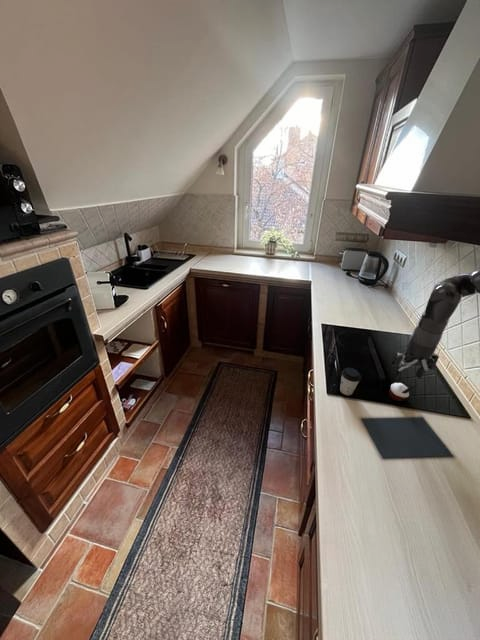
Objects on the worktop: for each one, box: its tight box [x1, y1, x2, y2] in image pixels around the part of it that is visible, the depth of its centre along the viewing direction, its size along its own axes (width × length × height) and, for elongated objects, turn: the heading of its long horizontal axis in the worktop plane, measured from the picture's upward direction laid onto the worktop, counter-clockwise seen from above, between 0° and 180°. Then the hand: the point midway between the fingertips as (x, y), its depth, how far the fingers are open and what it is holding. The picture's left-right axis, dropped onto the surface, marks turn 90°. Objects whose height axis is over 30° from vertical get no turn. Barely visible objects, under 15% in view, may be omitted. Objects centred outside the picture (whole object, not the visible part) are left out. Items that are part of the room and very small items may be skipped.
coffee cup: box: [339, 367, 362, 396], centre depth 97 cm, size 7×7×10 cm
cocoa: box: [388, 382, 418, 403], centre depth 94 cm, size 10×6×12 cm, turn 155°
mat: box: [361, 416, 454, 459], centre depth 82 cm, size 22×14×1 cm, turn 92°
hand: (406, 377), depth 91 cm, fingers open, 8 cm apart
